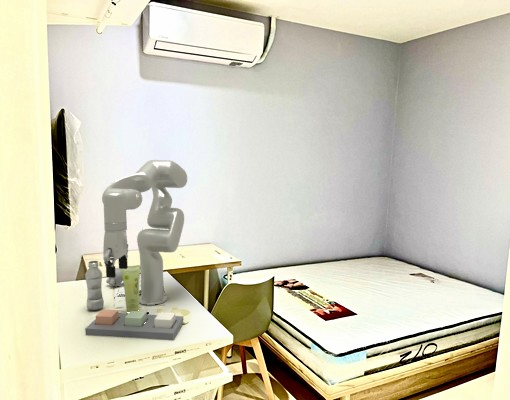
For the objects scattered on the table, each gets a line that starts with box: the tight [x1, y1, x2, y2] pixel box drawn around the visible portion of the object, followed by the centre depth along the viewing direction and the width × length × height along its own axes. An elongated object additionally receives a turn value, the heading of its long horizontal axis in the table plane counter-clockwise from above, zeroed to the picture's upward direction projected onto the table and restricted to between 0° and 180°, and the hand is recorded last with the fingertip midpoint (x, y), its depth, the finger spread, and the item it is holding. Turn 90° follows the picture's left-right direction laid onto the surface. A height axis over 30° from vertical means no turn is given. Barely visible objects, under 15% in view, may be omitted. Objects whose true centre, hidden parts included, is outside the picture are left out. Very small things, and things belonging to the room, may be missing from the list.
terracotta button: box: [95, 309, 119, 325], centre depth 153 cm, size 6×6×4 cm
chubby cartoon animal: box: [106, 267, 123, 288], centre depth 197 cm, size 7×12×8 cm, turn 126°
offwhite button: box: [154, 311, 176, 329], centre depth 151 cm, size 6×6×4 cm
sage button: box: [125, 310, 148, 327], centre depth 152 cm, size 6×6×4 cm
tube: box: [121, 264, 141, 313], centre depth 165 cm, size 6×5×20 cm
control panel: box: [84, 312, 184, 341], centre depth 152 cm, size 14×32×2 cm, turn 85°
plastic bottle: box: [84, 260, 105, 311], centre depth 168 cm, size 6×7×20 cm
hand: (117, 272), depth 149 cm, fingers open, 9 cm apart
